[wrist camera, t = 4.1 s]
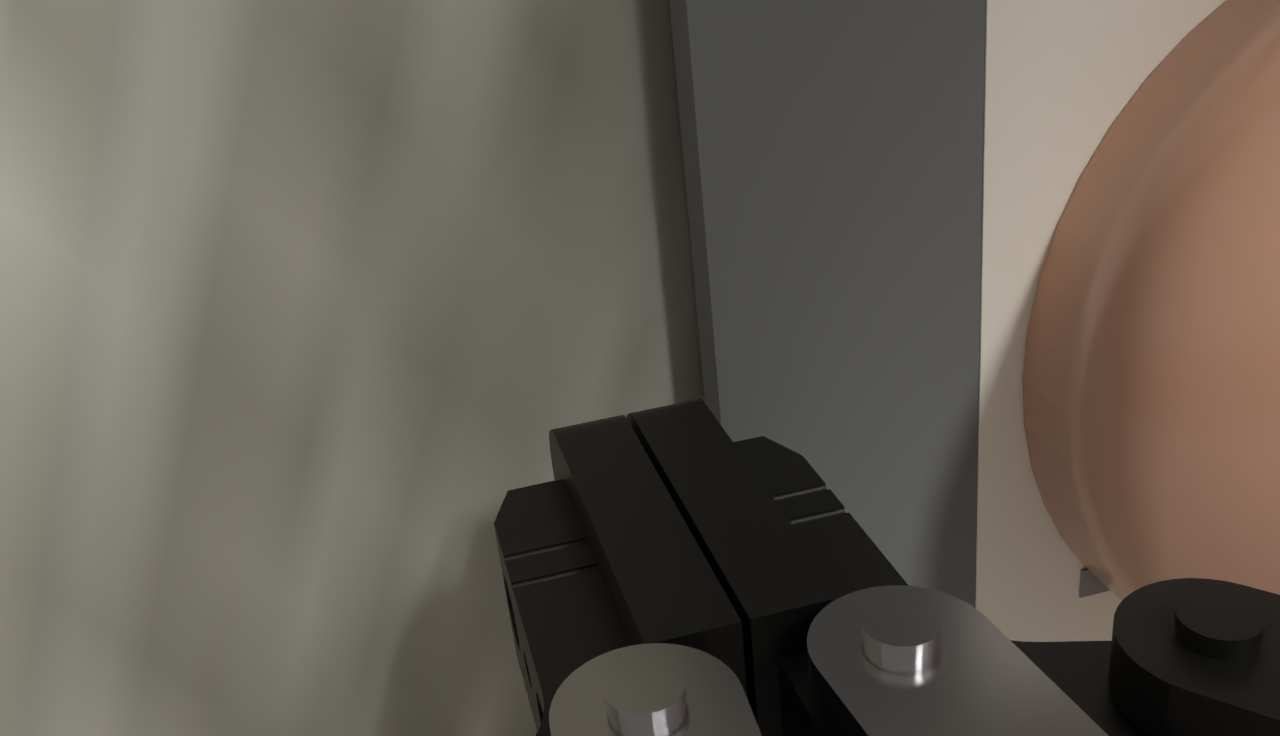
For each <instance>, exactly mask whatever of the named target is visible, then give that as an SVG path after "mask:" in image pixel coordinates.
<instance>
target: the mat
mask: <svg viewBox="0 0 1280 736" xmlns="http://www.w3.org/2000/svg"><path fill="white" fill-rule="evenodd" d="M1224 1H1226V0H669V6H670V17H671V29H672V40H673V51H674V63H675V74H676V85H677V97H678V108H679V119H680V131H681V142H682V153H683V165H684V176H685V187H686V199H687V210H688V221H689V232H690V244H691V255H692V266H693V278H694V289H695V300H696V312H697V323H698V334H699V346H700V357H701V368H702V380H703V391H704V402H705V404H706V405H707V406H708V408H709V409H710V411H711V412H712V413H713V415H714V416H715V418H716V419H717V420H718V422H719V423H720V425H721V426H722V427H723V429H724V430H725V432H726V433H727V434H728V436H729V437H730V439H731V440H732V441H733V442H737V441H742V440H746V439H751V438H756V437H760V436H764V437H766V438H768V439H770V440H772V441H774V442H776V443H778V444H780V445H782V446H784V447H786V448H788V449H790V450H792V451H794V452H797V453H799V454H801V455H803V456H804V458H805V459H806V460H807V461H808V463H809V464H810V465H811V466H812V467H813V469H814V470H815V471H816V472H817V474H818V475H819V476H820V477H821V479H822V480H823V481H824V482H825V483H826V488H827V490H828V489H830V490H831V491H832V492H833V493H834V494H835V496H836V497H837V498H838V499H839V501H840V502H841V503H842V504H843V506H844V508H845V512H846V513H850V514H851V515H852V517H853V518H854V519H855V520H856V521H857V523H858V524H859V525H860V526H861V528H862V529H863V530H864V531H865V533H866V534H867V535H868V536H869V537H870V539H871V540H872V541H873V542H874V544H875V545H876V546H877V547H878V548H879V550H880V551H881V552H882V553H883V555H884V556H885V557H886V558H887V560H888V561H889V562H890V563H891V564H892V566H893V567H894V568H895V569H896V571H897V572H898V573H899V574H900V575H901V577H902V578H903V579H904V580H905V582H906V583H907V584H908V585H909V586H918V587H923V588H929V589H934V590H937V591H940V592H944V593H947V594H950V595H952V596H955V597H957V598H959V599H961V600H963V601H965V602H967V603H968V604H970V605H972V606H973V607H975V608H976V609H977V610H979V611H980V612H981V613H982V614H983V615H985V616H986V617H987V618H988V619H989V620H990V621H991V622H992V623H993V624H994V625H995V626H996V627H997V628H998V629H999V630H1000V631H1001V632H1002V633H1003V634H1004V635H1005V636H1006V637H1007V638H1008V639H1009V640H1013V641H1024V642H1064V641H1112V631H1113V620H1114V614H1115V611H1116V609H1117V607H1118V605H1119V604H1120V603H1121V602H1122V600H1120V599H1119V598H1118V597H1117V596H1116V595H1115V594H1114V593H1113V592H1112V591H1111V590H1110V589H1109V588H1107V587H1106V586H1105V585H1104V584H1103V583H1102V582H1101V581H1100V580H1099V579H1098V578H1097V577H1096V576H1095V575H1093V574H1092V573H1091V572H1090V571H1089V570H1088V569H1087V568H1086V567H1085V566H1084V565H1083V564H1082V562H1081V561H1080V560H1079V559H1078V557H1077V556H1076V555H1075V554H1074V552H1073V551H1072V550H1071V549H1070V547H1069V546H1068V545H1067V544H1066V542H1065V541H1064V540H1063V539H1062V537H1061V535H1060V533H1059V532H1058V530H1057V528H1056V526H1055V524H1054V522H1053V520H1052V519H1051V517H1050V515H1049V513H1048V511H1047V509H1046V508H1045V506H1044V503H1043V500H1042V497H1041V494H1040V491H1039V488H1038V485H1037V483H1036V480H1035V477H1034V474H1033V471H1032V468H1031V462H1030V457H1029V451H1028V445H1027V440H1026V434H1025V428H1024V408H1023V371H1024V361H1025V351H1026V341H1027V331H1028V327H1029V322H1030V318H1031V313H1032V309H1033V304H1034V300H1035V295H1036V291H1037V286H1038V282H1039V278H1040V276H1041V273H1042V270H1043V267H1044V264H1045V261H1046V258H1047V255H1048V252H1049V250H1050V247H1051V244H1052V241H1053V238H1054V235H1055V232H1056V229H1057V227H1058V225H1059V223H1060V220H1061V218H1062V216H1063V214H1064V212H1065V210H1066V208H1067V206H1068V203H1069V201H1070V199H1071V197H1072V195H1073V193H1074V191H1075V189H1076V186H1077V184H1078V182H1079V180H1080V178H1081V176H1082V174H1083V172H1084V171H1085V169H1086V168H1087V166H1088V164H1089V163H1090V161H1091V159H1092V158H1093V156H1094V154H1095V153H1096V151H1097V149H1098V148H1099V146H1100V144H1101V143H1102V141H1103V139H1104V138H1105V136H1106V134H1107V133H1108V131H1109V129H1110V128H1111V126H1112V124H1113V123H1114V122H1115V121H1116V119H1117V118H1118V117H1119V115H1120V114H1121V113H1122V111H1123V110H1124V109H1125V107H1126V106H1127V105H1128V103H1129V102H1130V101H1131V99H1132V98H1133V97H1134V95H1135V94H1136V93H1137V91H1138V90H1139V89H1140V87H1141V86H1142V85H1143V83H1144V82H1145V81H1146V79H1147V78H1148V77H1149V75H1150V74H1151V73H1152V72H1153V71H1154V70H1155V69H1156V68H1157V67H1158V66H1159V65H1160V64H1161V62H1162V61H1163V60H1164V59H1165V58H1166V57H1167V56H1168V55H1169V54H1170V53H1171V52H1172V51H1173V50H1174V48H1175V47H1176V46H1177V45H1178V44H1179V43H1180V42H1181V41H1182V40H1183V39H1184V38H1185V37H1186V35H1187V34H1188V33H1189V32H1190V31H1191V30H1192V29H1194V28H1195V27H1196V26H1197V25H1198V24H1199V23H1200V22H1202V21H1203V20H1204V19H1205V18H1206V17H1207V16H1208V15H1210V14H1211V13H1212V12H1213V11H1214V10H1215V9H1216V8H1218V7H1219V6H1220V5H1221V4H1222V3H1223V2H1224Z"/></svg>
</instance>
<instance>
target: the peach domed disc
mask: <svg viewBox="0 0 1280 736" xmlns="http://www.w3.org/2000/svg"><path fill="white" fill-rule="evenodd" d="M1023 408H1024V428H1025V434H1026V440H1027V445H1028V451H1029V457H1030V462H1031V468H1032V471H1033V474H1034V477H1035V480H1036V483H1037V485H1038V488H1039V491H1040V494H1041V497H1042V500H1043V503H1044V506H1045V508H1046V509H1047V511H1048V513H1049V515H1050V517H1051V519H1052V520H1053V522H1054V524H1055V526H1056V528H1057V530H1058V532H1059V533H1060V535H1061V537H1062V539H1063V540H1064V541H1065V542H1066V544H1067V545H1068V546H1069V547H1070V549H1071V550H1072V551H1073V552H1074V554H1075V555H1076V556H1077V557H1078V559H1079V560H1080V561H1081V562H1082V564H1083V565H1084V566H1085V567H1086V568H1087V569H1088V570H1089V571H1090V572H1091V573H1092V574H1093V575H1095V576H1096V577H1097V578H1098V579H1099V580H1100V581H1101V582H1102V583H1103V584H1104V585H1105V586H1106V587H1107V588H1109V589H1110V590H1111V591H1112V592H1113V593H1114V594H1115V595H1116V596H1117V597H1118V598H1119V599H1120V600H1123V599H1124V598H1125V597H1126V596H1128V595H1129V594H1131V593H1132V592H1133V591H1135V590H1137V589H1139V588H1141V587H1143V586H1146V585H1149V584H1152V583H1155V582H1159V581H1165V580H1171V579H1181V578H1203V579H1214V580H1221V581H1228V582H1232V583H1236V584H1241V585H1245V586H1249V587H1252V588H1256V589H1260V590H1264V591H1267V592H1271V593H1275V594H1278V595H1280V0H1226V1H1224V2H1223V3H1222V4H1221V5H1220V6H1219V7H1218V8H1216V9H1215V10H1214V11H1213V12H1212V13H1211V14H1210V15H1208V16H1207V17H1206V18H1205V19H1204V20H1203V21H1202V22H1200V23H1199V24H1198V25H1197V26H1196V27H1195V28H1194V29H1192V30H1191V31H1190V32H1189V33H1188V34H1187V35H1186V37H1185V38H1184V39H1183V40H1182V41H1181V42H1180V43H1179V44H1178V45H1177V46H1176V47H1175V48H1174V50H1173V51H1172V52H1171V53H1170V54H1169V55H1168V56H1167V57H1166V58H1165V59H1164V60H1163V61H1162V62H1161V64H1160V65H1159V66H1158V67H1157V68H1156V69H1155V70H1154V71H1153V72H1152V73H1151V74H1150V75H1149V77H1148V78H1147V79H1146V81H1145V82H1144V83H1143V85H1142V86H1141V87H1140V89H1139V90H1138V91H1137V93H1136V94H1135V95H1134V97H1133V98H1132V99H1131V101H1130V102H1129V103H1128V105H1127V106H1126V107H1125V109H1124V110H1123V111H1122V113H1121V114H1120V115H1119V117H1118V118H1117V119H1116V121H1115V122H1114V123H1113V124H1112V126H1111V128H1110V129H1109V131H1108V133H1107V134H1106V136H1105V138H1104V139H1103V141H1102V143H1101V144H1100V146H1099V148H1098V149H1097V151H1096V153H1095V154H1094V156H1093V158H1092V159H1091V161H1090V163H1089V164H1088V166H1087V168H1086V169H1085V171H1084V172H1083V174H1082V176H1081V178H1080V180H1079V182H1078V184H1077V186H1076V189H1075V191H1074V193H1073V195H1072V197H1071V199H1070V201H1069V203H1068V206H1067V208H1066V210H1065V212H1064V214H1063V216H1062V218H1061V220H1060V223H1059V225H1058V227H1057V229H1056V232H1055V235H1054V238H1053V241H1052V244H1051V247H1050V250H1049V252H1048V255H1047V258H1046V261H1045V264H1044V267H1043V270H1042V273H1041V276H1040V278H1039V282H1038V286H1037V291H1036V295H1035V300H1034V304H1033V309H1032V313H1031V318H1030V322H1029V327H1028V331H1027V341H1026V351H1025V361H1024V371H1023Z"/></svg>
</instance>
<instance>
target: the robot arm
mask: <svg viewBox="0 0 1280 736" xmlns="http://www.w3.org/2000/svg"><path fill="white" fill-rule="evenodd" d="M549 440H550V451H551V459H552V465H553V472H554V479H555V481H551V482H546V483H542V484H537V485H532V486H528V487H523V488H518V489H514V490H509V491H508V492H507V494H506V496H505V499H504V501H503V503H502V506H501V508H500V510H499V513H498V515H497V517H496V520H495V522H494V526H495V532H496V538H497V544H498V549H499V555H500V561H501V567H502V572H503V578H504V584H505V590H506V595H507V601H508V607H509V613H510V618H511V624H512V630H513V635H514V641H515V647H516V653H517V657H518V661H519V665H520V668H521V672H522V676H523V679H524V683H525V687H526V691H527V693H528V698H529V702H530V706H531V709H532V713H533V717H534V720H535V723H536V727H537V734H536V736H1280V595H1278V594H1275V593H1271V592H1267V591H1264V590H1260V589H1256V588H1252V587H1249V586H1245V585H1241V584H1236V583H1232V582H1228V581H1221V580H1214V579H1203V578H1181V579H1171V580H1165V581H1159V582H1155V583H1152V584H1149V585H1146V586H1143V587H1141V588H1139V589H1137V590H1135V591H1133V592H1132V593H1131V594H1129V595H1128V596H1126V597H1125V598H1124V599H1123V600H1122V602H1121V603H1120V604H1119V605H1118V607H1117V609H1116V611H1115V614H1114V620H1113V631H1112V641H1064V642H1024V641H1013V640H1009V639H1008V638H1007V637H1006V636H1005V635H1004V634H1003V633H1002V632H1001V631H1000V630H999V629H998V628H997V627H996V626H995V625H994V624H993V623H992V622H991V621H990V620H989V619H988V618H987V617H986V616H985V615H983V614H982V613H981V612H980V611H979V610H977V609H976V608H975V607H973V606H972V605H970V604H968V603H967V602H965V601H963V600H961V599H959V598H957V597H955V596H952V595H950V594H947V593H944V592H940V591H937V590H934V589H929V588H923V587H918V586H909V585H908V584H907V583H906V582H905V580H904V579H903V578H902V577H901V575H900V574H899V573H898V572H897V571H896V569H895V568H894V567H893V566H892V564H891V563H890V562H889V561H888V560H887V558H886V557H885V556H884V555H883V553H882V552H881V551H880V550H879V548H878V547H877V546H876V545H875V544H874V542H873V541H872V540H871V539H870V537H869V536H868V535H867V534H866V533H865V531H864V530H863V529H862V528H861V526H860V525H859V524H858V523H857V521H856V520H855V519H854V518H853V517H852V515H851V514H850V513H846V512H845V508H844V506H843V504H842V503H841V502H840V501H839V499H838V498H837V497H836V496H835V494H834V493H833V492H832V491H831V490H830V489H828V490H827V488H826V483H825V482H824V481H823V480H822V479H821V477H820V476H819V475H818V474H817V472H816V471H815V470H814V469H813V467H812V466H811V465H810V464H809V463H808V461H807V460H806V459H805V458H804V456H803V455H801V454H799V453H797V452H794V451H792V450H790V449H788V448H786V447H784V446H782V445H780V444H778V443H776V442H774V441H772V440H770V439H768V438H766V437H764V436H760V437H756V438H751V439H746V440H742V441H737V442H733V441H732V440H731V439H730V437H729V436H728V434H727V433H726V432H725V430H724V429H723V427H722V426H721V425H720V423H719V422H718V420H717V419H716V418H715V416H714V415H713V413H712V412H711V411H710V409H709V408H708V406H707V405H706V404H705V403H704V401H702V400H701V399H697V400H692V401H688V402H683V403H678V404H673V405H668V406H663V407H658V408H653V409H649V410H644V411H639V412H634V413H629V414H628V415H627V418H626V417H625V416H624V415H621V416H616V417H611V418H606V419H601V420H596V421H591V422H587V423H582V424H577V425H572V426H567V427H562V428H557V429H553V430H550V434H549Z"/></svg>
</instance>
